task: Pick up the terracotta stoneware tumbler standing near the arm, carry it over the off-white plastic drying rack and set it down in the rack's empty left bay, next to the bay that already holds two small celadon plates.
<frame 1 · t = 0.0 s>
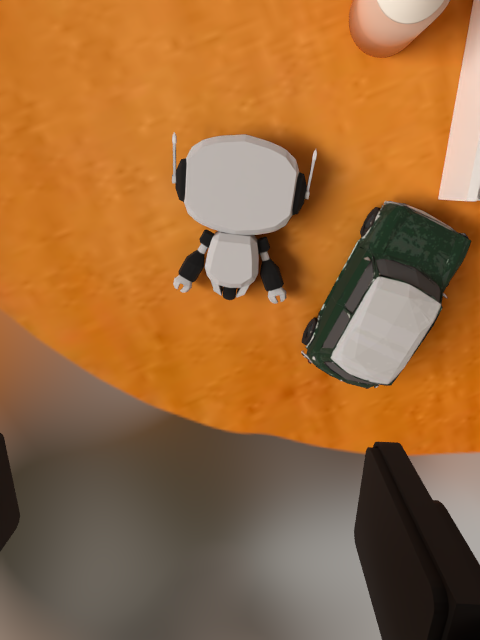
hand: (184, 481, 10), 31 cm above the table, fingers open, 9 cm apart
robot toy: (238, 221, 39), on the table
miniature car: (371, 293, 41), on the table
tumbler: (385, 15, 32), on the table
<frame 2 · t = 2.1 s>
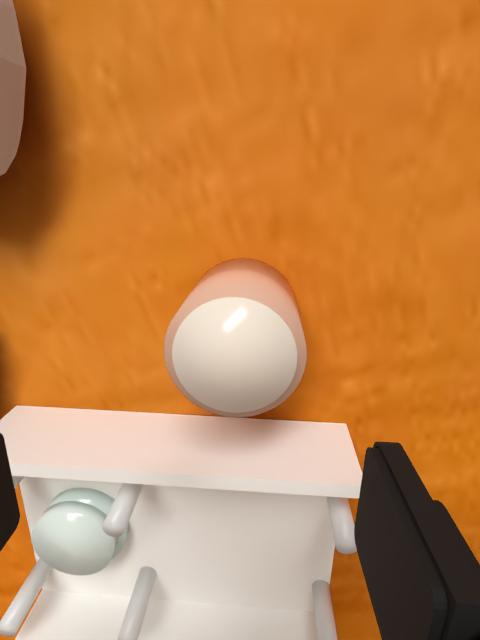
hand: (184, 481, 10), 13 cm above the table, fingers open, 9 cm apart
rack: (181, 512, 27), on the table
plate stack: (96, 506, 27), resting on rack
tumbler: (243, 311, 22), on the table
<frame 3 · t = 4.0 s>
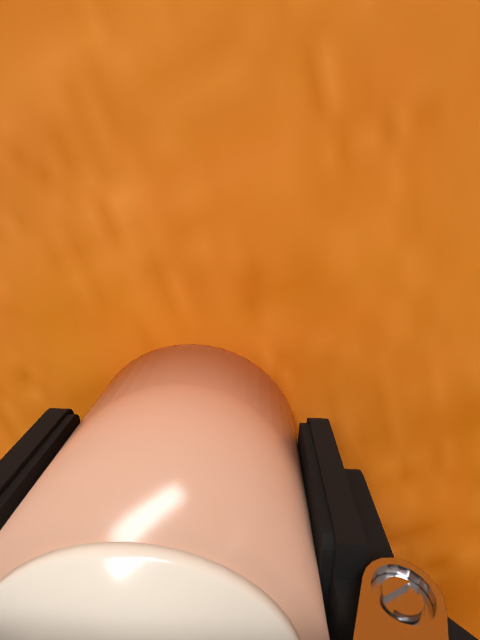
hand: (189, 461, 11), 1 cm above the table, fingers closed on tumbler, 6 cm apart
tumbler: (195, 435, 12), on the table, touching gripper
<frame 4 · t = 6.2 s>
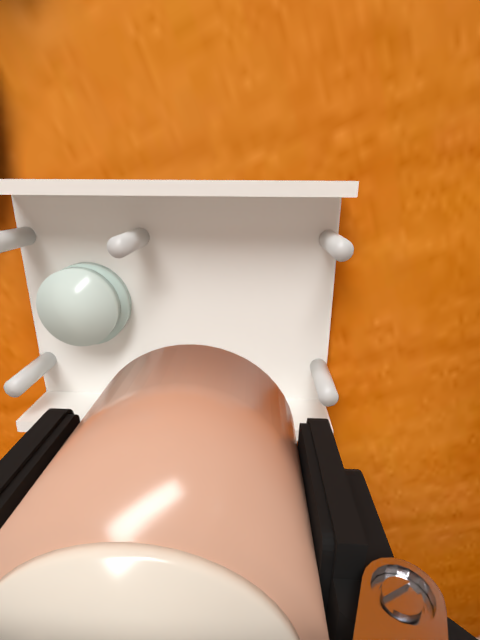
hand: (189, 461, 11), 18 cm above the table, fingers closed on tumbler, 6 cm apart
rack: (181, 298, 28), on the table
plate stack: (98, 297, 28), resting on rack
tumbler: (195, 435, 12), point 17 cm above the table, touching gripper
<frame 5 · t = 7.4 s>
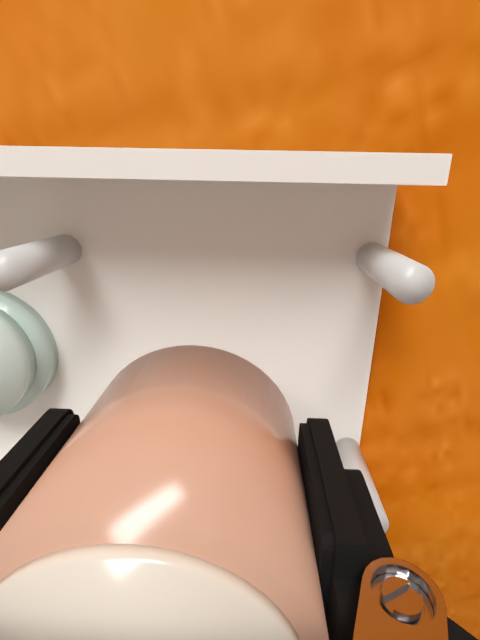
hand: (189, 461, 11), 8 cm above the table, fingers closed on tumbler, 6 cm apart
rack: (138, 342, 18), on the table
plate stack: (11, 338, 18), resting on rack
tumbler: (195, 436, 12), point 7 cm above the table, touching gripper
when the fingers open (4 cm above the table, at t = 8.5 s): tumbler drops 1 cm, resting on rack.
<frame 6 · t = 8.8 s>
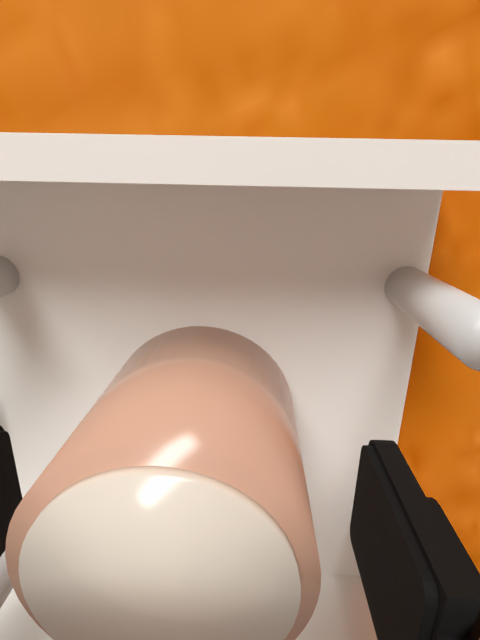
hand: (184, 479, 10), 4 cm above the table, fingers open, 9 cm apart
rack: (103, 389, 14), on the table
tumbler: (203, 410, 13), point 1 cm above the table, touching rack
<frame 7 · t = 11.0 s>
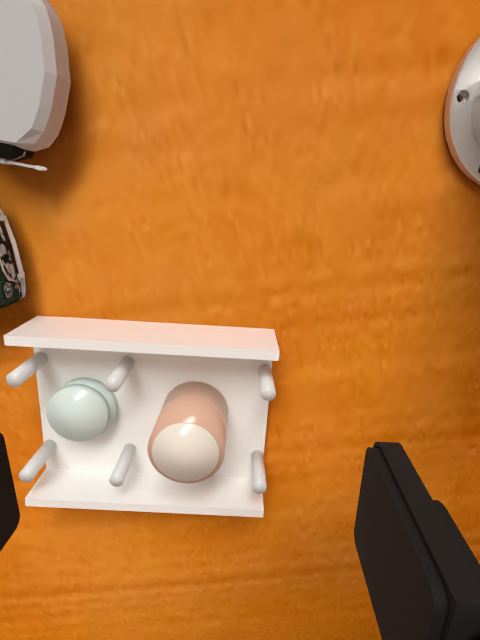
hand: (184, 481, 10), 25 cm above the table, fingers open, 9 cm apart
rack: (156, 402, 37), on the table
plate stack: (92, 398, 37), resting on rack
tumbler: (195, 410, 36), point 1 cm above the table, touching rack
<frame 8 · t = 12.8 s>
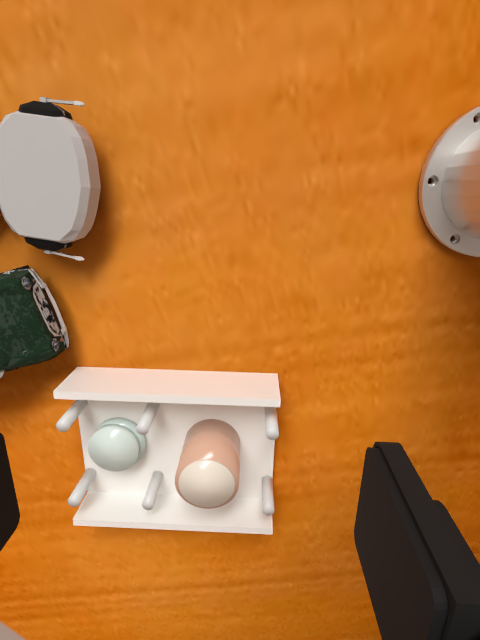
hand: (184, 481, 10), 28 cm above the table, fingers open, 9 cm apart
rack: (179, 435, 43), on the table
robot toy: (28, 175, 35), on the table
plate stack: (124, 433, 43), resting on rack
tumbler: (212, 443, 42), point 1 cm above the table, touching rack
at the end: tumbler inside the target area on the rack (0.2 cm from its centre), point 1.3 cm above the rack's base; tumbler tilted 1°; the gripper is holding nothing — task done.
